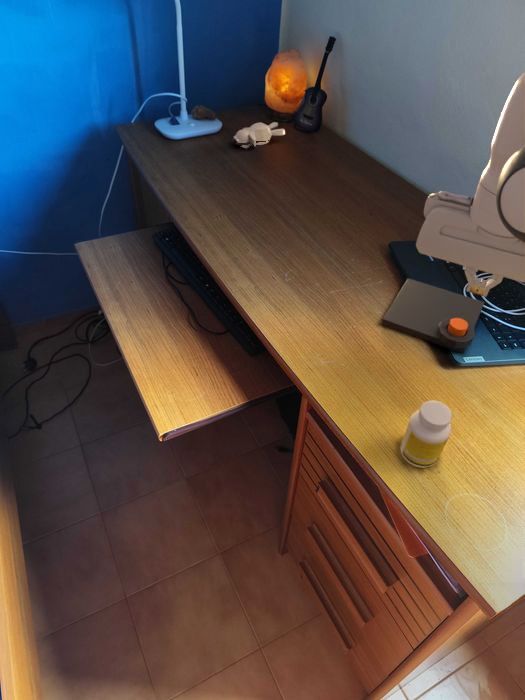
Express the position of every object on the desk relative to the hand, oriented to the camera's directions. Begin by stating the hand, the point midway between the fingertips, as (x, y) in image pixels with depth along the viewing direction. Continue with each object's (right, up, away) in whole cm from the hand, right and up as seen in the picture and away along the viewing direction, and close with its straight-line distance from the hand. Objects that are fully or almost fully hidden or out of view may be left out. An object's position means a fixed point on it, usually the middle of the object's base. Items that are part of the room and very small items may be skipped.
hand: (477, 292), depth 69 cm
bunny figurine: (-33, +56, +75) cm, 99 cm away
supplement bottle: (-9, -24, -1) cm, 25 cm away
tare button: (+2, -5, +12) cm, 14 cm away
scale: (0, -2, +19) cm, 19 cm away
